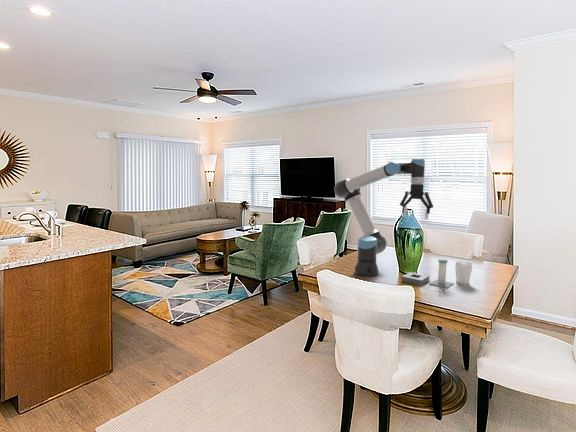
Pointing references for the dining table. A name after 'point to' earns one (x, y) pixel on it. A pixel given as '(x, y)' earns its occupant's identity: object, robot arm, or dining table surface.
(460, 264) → the cup
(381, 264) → the dining table surface
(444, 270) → the plug
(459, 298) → the dining table surface
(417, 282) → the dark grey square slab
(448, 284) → the coaster
